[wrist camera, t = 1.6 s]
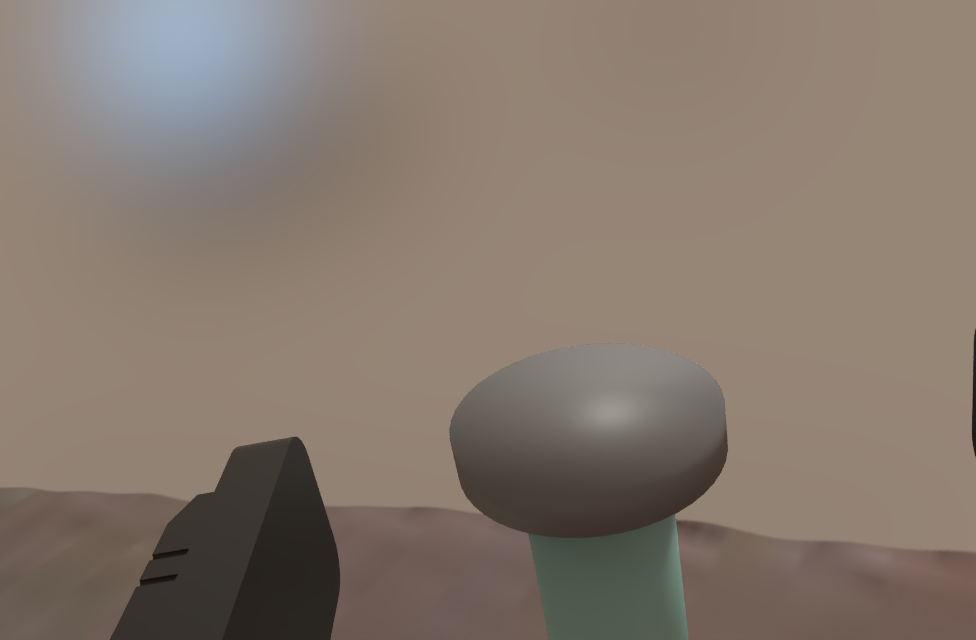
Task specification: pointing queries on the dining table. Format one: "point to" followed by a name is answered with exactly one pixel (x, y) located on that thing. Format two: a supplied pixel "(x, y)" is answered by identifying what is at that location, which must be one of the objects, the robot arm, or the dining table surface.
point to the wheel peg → (596, 478)
